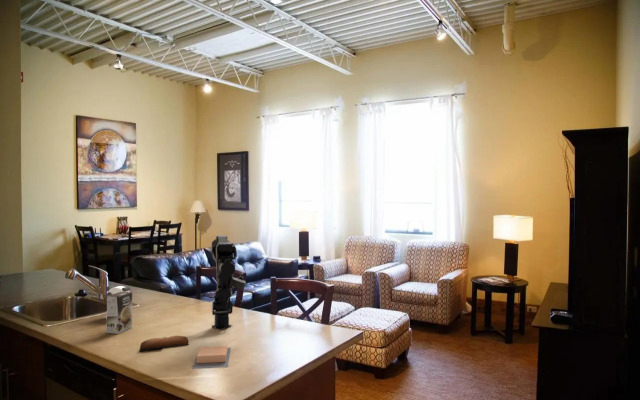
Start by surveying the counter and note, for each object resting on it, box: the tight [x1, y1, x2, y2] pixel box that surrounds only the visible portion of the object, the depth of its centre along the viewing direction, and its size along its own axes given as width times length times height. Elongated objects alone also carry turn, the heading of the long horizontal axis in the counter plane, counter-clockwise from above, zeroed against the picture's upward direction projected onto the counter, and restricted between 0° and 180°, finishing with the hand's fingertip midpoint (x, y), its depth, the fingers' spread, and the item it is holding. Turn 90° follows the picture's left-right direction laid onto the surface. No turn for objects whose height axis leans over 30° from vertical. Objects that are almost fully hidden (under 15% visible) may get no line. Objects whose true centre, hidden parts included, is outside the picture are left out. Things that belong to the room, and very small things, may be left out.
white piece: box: [105, 284, 131, 320], centre depth 207 cm, size 12×11×15 cm
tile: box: [196, 345, 228, 363], centre depth 154 cm, size 3×10×9 cm
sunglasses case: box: [139, 335, 190, 352], centre depth 168 cm, size 18×7×7 cm, turn 113°
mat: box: [191, 347, 232, 370], centre depth 155 cm, size 19×12×1 cm, turn 9°
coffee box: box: [106, 291, 133, 335], centre depth 186 cm, size 9×6×16 cm
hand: (225, 309), depth 178 cm, fingers closed
